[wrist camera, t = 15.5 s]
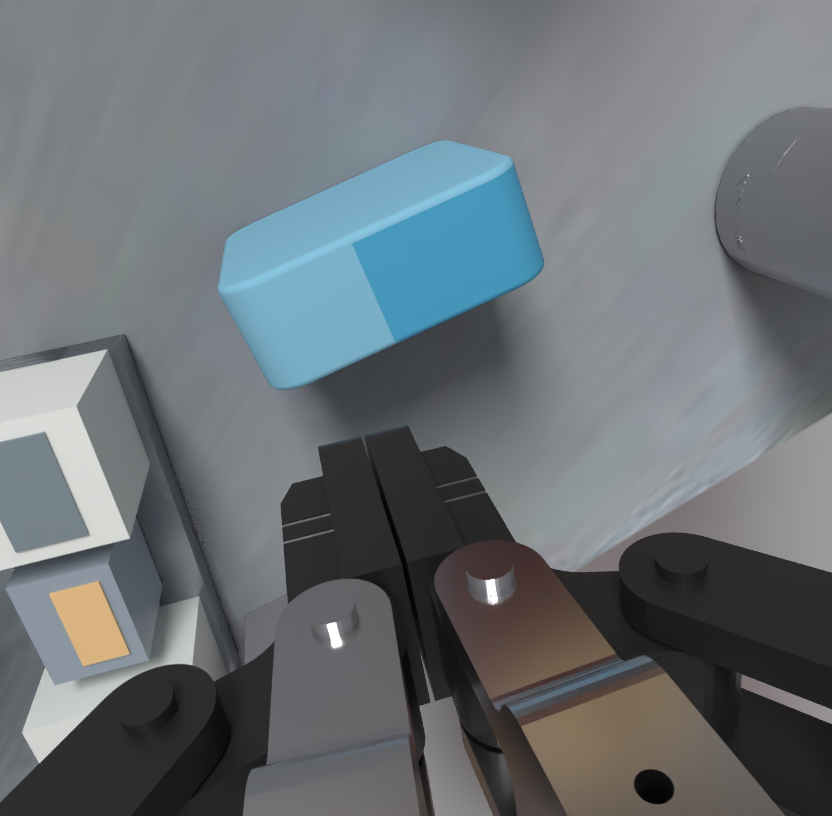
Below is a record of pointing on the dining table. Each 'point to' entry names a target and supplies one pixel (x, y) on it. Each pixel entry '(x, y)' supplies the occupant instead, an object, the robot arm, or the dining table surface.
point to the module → (90, 607)
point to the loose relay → (262, 627)
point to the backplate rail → (157, 497)
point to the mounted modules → (80, 514)
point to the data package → (378, 260)
